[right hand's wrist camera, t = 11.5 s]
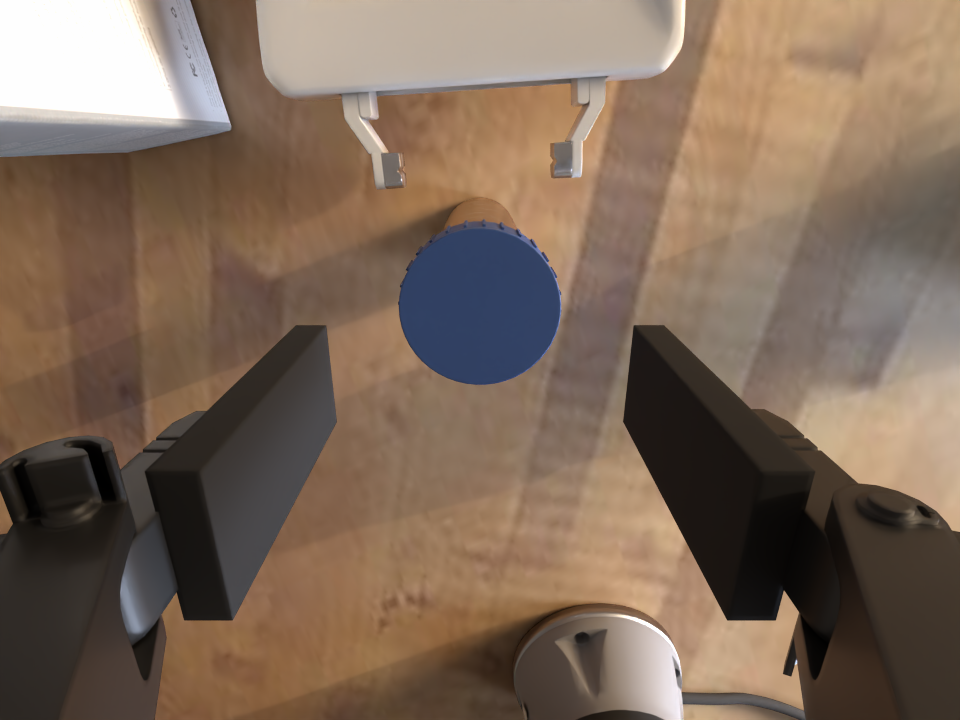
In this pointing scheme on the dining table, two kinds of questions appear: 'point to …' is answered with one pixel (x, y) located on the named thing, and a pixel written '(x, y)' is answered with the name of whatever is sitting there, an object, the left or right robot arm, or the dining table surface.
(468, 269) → the lid
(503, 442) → the dining table surface
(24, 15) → the hard drive box
